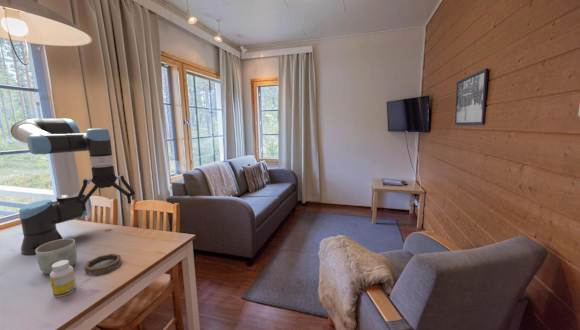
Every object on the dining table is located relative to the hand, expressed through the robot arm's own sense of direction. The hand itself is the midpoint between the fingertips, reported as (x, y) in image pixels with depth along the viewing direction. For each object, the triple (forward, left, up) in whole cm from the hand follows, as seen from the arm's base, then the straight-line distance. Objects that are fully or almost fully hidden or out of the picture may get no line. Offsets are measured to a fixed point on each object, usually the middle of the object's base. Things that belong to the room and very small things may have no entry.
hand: (109, 214), depth 106 cm
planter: (-20, -10, -24) cm, 32 cm away
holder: (-3, -3, -23) cm, 24 cm away
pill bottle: (0, -19, -24) cm, 30 cm away
